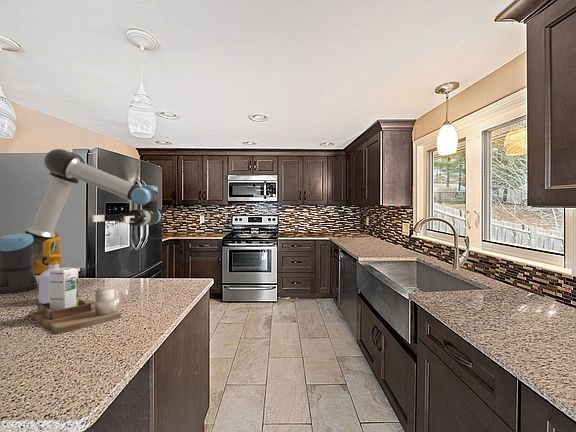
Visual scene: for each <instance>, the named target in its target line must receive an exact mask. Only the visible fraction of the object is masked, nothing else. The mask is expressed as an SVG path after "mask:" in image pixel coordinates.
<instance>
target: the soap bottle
mask: <svg viewBox="0 0 576 432" xmlns="http://www.w3.org/2000/svg"><path fill="white" fill-rule="evenodd" d="M61 239H62V238H61V237H60V236H58V237H54V238H51V239H48V240H46V241H44V242H43V255H44V256H47V257H50V259H51V262H50V263H49V268H48V269H47V270H46V271H44V272H43V273H41V274H39V277H38V303H39V304H44V303H50V271H51V270H56V269H60V268H59V262H57V259H58V256H61V257H63V254H61V253H60V254H53V255H50V245H51V243H52V242H54V241H57V240H59V241H60V240H61Z"/></svg>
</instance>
